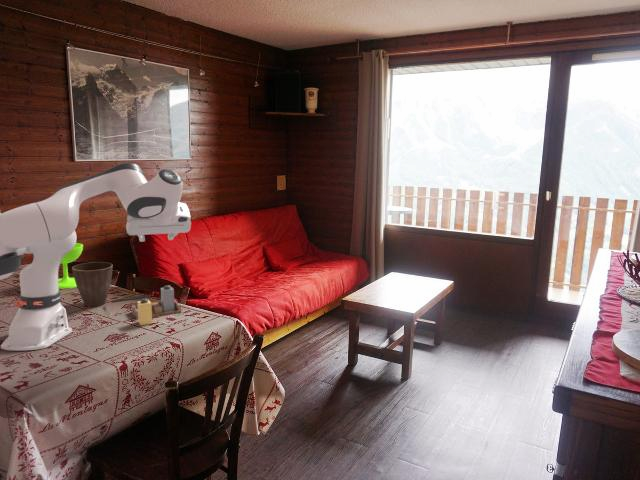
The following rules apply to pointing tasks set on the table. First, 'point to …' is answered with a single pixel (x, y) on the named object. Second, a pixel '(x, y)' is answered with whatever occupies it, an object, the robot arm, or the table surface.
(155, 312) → the slot rack
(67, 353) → the table surface
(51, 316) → the robot arm
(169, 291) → the plug grey
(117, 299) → the phone
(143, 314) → the plug ochre
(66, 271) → the wineglass
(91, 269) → the plant pot
